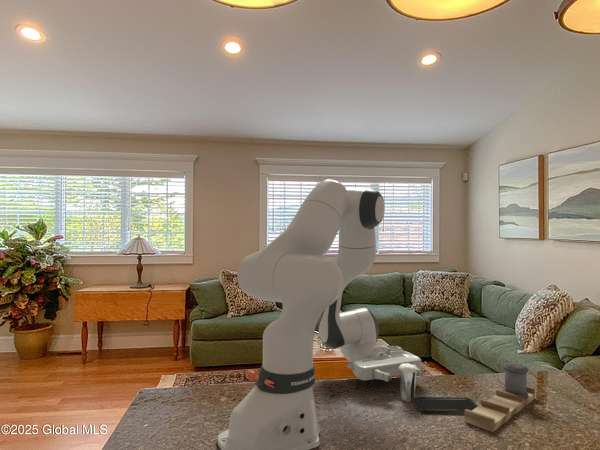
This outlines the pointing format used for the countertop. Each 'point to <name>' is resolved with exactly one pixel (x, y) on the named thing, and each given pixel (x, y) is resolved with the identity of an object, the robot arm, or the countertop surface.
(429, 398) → the phone
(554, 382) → the countertop surface
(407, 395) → the milkshake
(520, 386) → the spool
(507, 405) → the organizer
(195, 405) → the countertop surface
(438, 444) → the countertop surface
